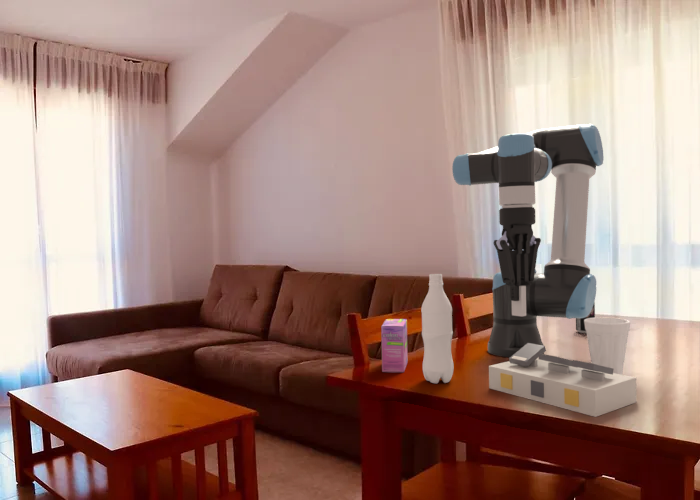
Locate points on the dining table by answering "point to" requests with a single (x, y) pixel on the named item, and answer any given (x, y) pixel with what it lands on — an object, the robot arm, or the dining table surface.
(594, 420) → the dining table surface
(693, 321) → the dining table surface
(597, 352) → the cup
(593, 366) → the switch
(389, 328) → the box
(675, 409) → the dining table surface
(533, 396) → the console
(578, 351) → the dining table surface
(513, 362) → the switch
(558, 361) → the switch
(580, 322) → the beverage can
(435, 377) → the water bottle
